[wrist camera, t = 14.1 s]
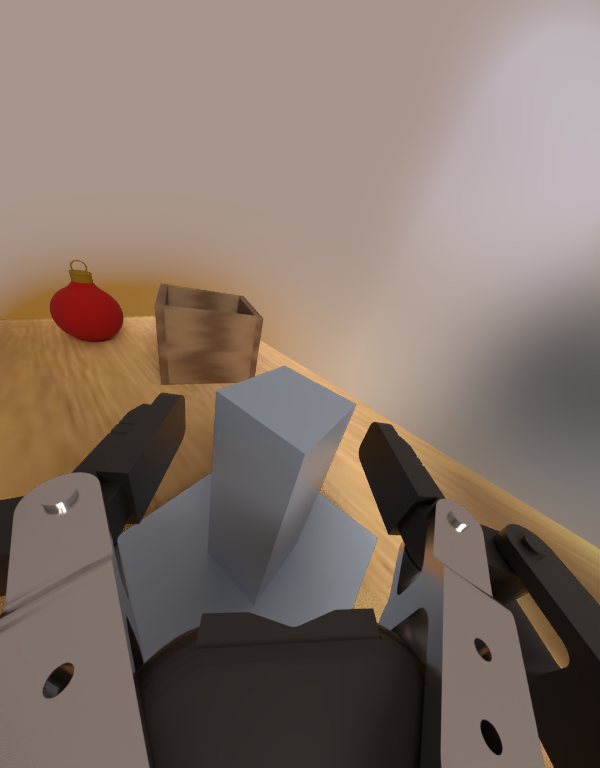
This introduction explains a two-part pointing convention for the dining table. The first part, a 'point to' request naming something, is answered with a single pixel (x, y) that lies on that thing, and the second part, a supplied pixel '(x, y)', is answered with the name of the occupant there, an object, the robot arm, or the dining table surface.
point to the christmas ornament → (86, 309)
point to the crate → (205, 336)
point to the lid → (252, 519)
